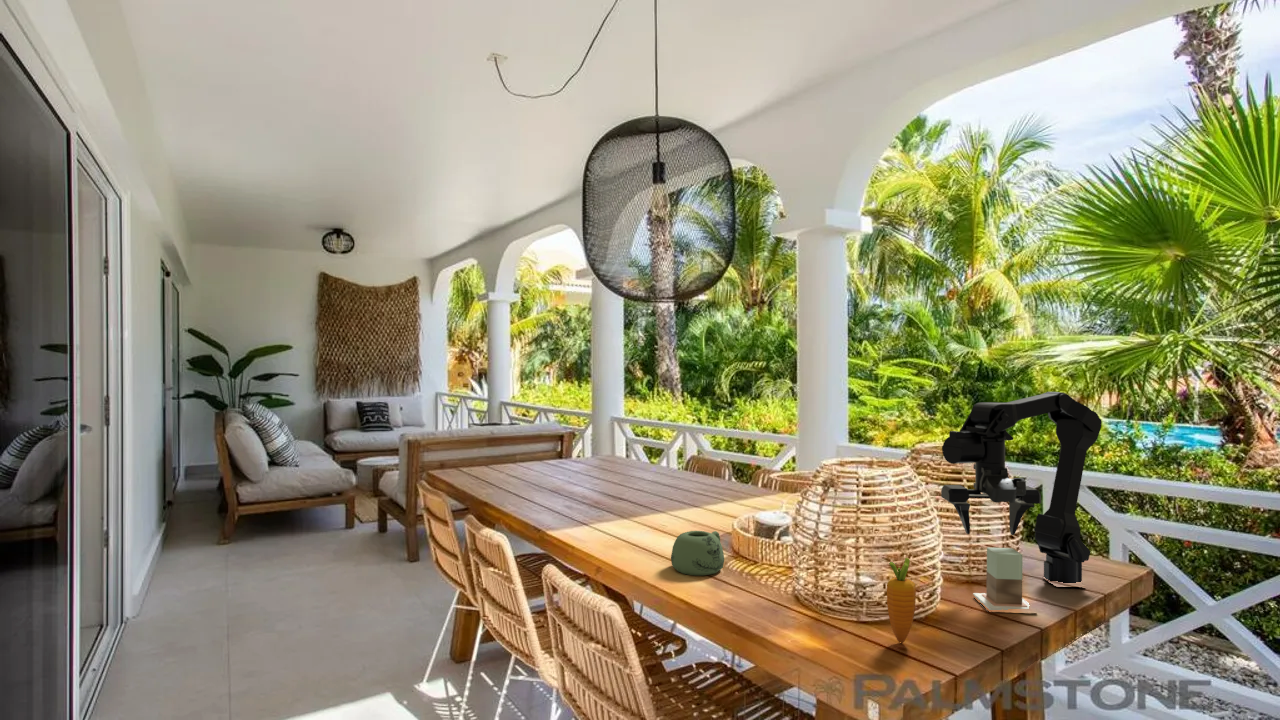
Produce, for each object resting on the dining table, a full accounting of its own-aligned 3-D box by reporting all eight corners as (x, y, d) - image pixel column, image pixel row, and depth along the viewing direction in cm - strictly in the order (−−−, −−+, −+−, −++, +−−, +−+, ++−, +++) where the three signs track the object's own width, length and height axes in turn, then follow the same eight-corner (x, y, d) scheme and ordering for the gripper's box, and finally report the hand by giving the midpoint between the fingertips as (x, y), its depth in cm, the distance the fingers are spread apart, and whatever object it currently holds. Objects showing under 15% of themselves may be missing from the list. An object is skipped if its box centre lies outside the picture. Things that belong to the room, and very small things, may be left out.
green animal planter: (704, 581, 161) (704, 543, 161) (659, 570, 170) (659, 534, 170) (741, 565, 174) (741, 530, 174) (697, 556, 182) (697, 522, 182)
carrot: (889, 648, 124) (889, 562, 124) (884, 637, 129) (884, 554, 129) (919, 649, 123) (919, 563, 123) (912, 638, 128) (912, 555, 128)
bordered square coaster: (1017, 599, 150) (1017, 593, 150) (1037, 614, 141) (1037, 608, 141) (973, 597, 150) (973, 592, 150) (989, 612, 141) (989, 606, 141)
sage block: (1011, 572, 148) (1012, 548, 148) (1022, 579, 143) (1022, 554, 143) (986, 571, 148) (986, 547, 148) (996, 578, 143) (996, 554, 143)
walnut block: (1011, 596, 148) (1011, 572, 148) (1022, 604, 143) (1022, 579, 143) (986, 595, 148) (986, 571, 148) (996, 603, 143) (996, 578, 143)
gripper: (958, 466, 146) (958, 542, 146) (1053, 468, 144) (1053, 545, 144) (940, 459, 157) (940, 529, 157) (1029, 460, 155) (1029, 531, 155)
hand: (990, 534), depth 153 cm, fingers open, 9 cm apart
